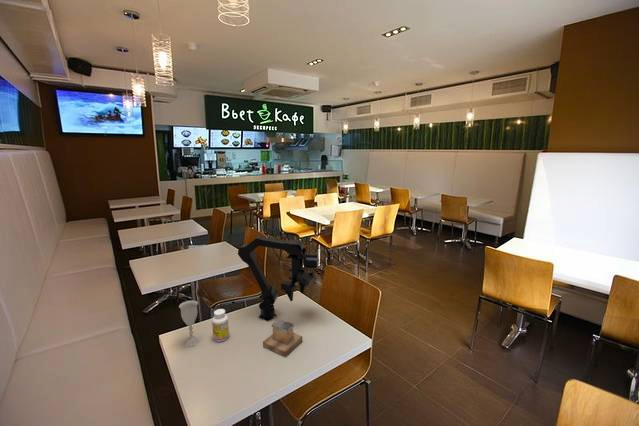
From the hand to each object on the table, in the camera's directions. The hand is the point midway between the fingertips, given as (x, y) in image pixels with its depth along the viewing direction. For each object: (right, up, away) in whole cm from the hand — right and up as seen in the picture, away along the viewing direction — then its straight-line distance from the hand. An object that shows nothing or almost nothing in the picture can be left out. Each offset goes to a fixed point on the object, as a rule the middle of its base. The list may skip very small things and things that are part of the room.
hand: (297, 296), depth 144 cm
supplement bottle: (-33, -15, -13) cm, 38 cm away
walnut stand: (-5, -16, -16) cm, 23 cm away
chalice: (-44, -15, -16) cm, 50 cm away
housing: (-5, -13, -17) cm, 22 cm away
